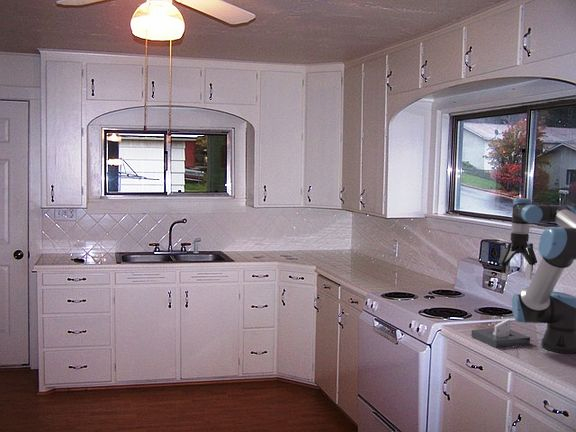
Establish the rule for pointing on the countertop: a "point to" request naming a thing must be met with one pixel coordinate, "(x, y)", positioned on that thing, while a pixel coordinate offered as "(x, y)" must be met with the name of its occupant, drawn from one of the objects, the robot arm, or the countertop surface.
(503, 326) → the white wedge bracket
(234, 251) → the countertop surface
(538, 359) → the countertop surface
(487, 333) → the grey square frame
